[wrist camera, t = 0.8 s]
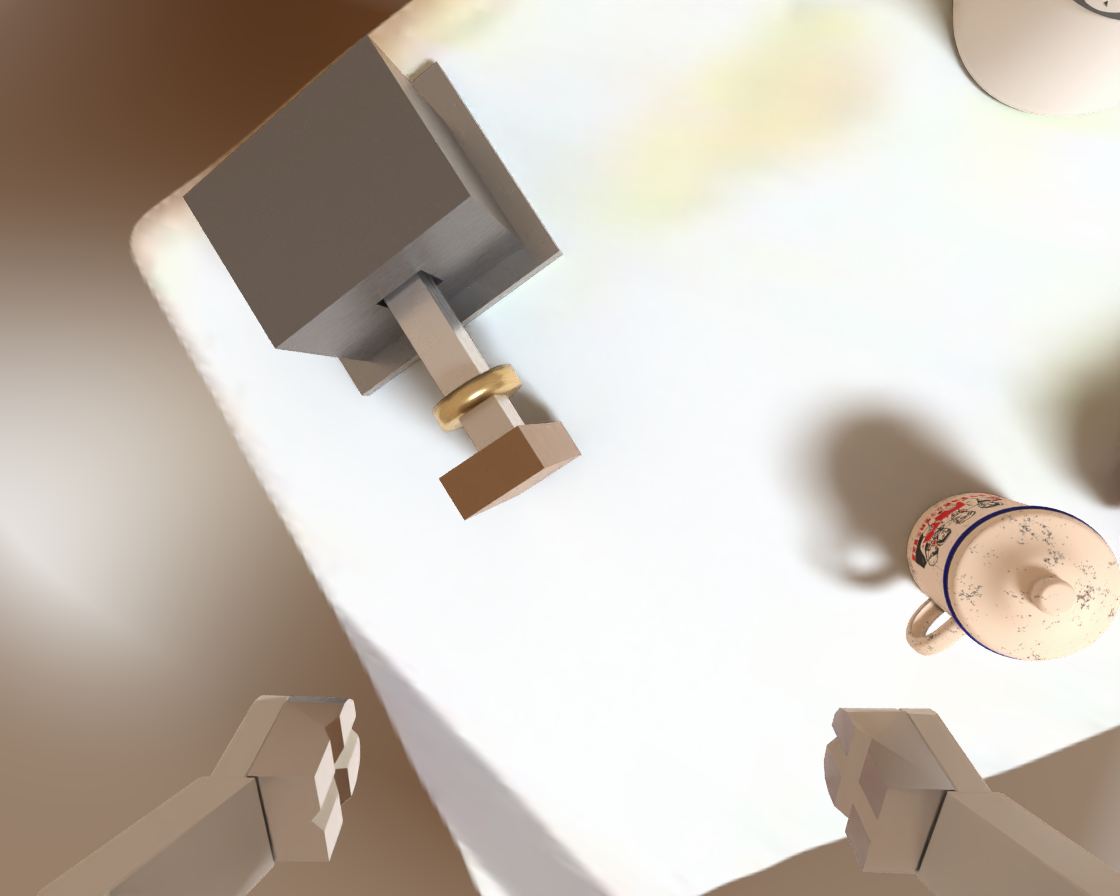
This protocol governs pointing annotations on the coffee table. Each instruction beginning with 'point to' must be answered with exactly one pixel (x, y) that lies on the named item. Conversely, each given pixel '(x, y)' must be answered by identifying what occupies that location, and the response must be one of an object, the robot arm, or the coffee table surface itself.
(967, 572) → the teacup with lid
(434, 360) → the shaft
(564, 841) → the coffee table surface
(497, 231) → the bearing block
